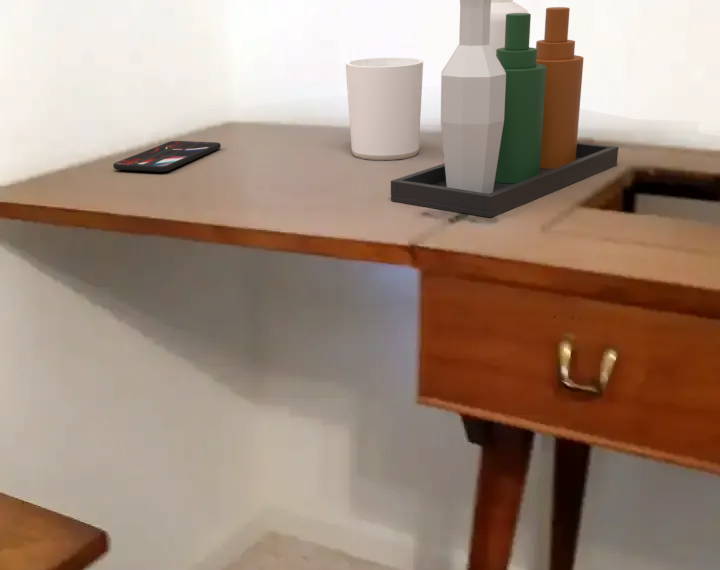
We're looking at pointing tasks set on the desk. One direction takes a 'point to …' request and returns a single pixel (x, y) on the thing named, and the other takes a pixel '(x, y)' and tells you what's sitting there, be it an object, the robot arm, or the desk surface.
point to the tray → (500, 185)
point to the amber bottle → (559, 90)
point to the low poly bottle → (472, 103)
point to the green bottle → (520, 104)
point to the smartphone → (167, 156)
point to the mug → (384, 107)
